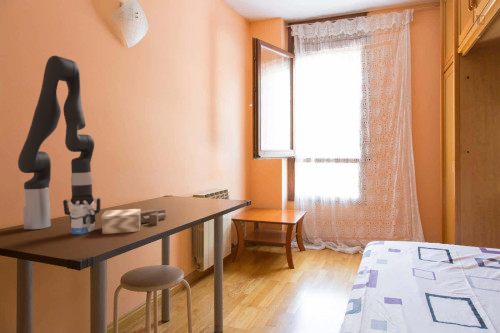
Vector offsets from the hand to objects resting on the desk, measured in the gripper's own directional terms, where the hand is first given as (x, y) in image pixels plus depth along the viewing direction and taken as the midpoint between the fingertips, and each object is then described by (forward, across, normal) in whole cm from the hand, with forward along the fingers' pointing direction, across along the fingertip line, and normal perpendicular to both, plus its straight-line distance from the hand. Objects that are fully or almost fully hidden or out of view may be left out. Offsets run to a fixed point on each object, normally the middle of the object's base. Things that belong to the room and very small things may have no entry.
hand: (83, 224), depth 140 cm
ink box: (+3, 0, 0) cm, 3 cm away
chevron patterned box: (+3, +15, +1) cm, 15 cm away
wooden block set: (+4, +30, +15) cm, 34 cm away
